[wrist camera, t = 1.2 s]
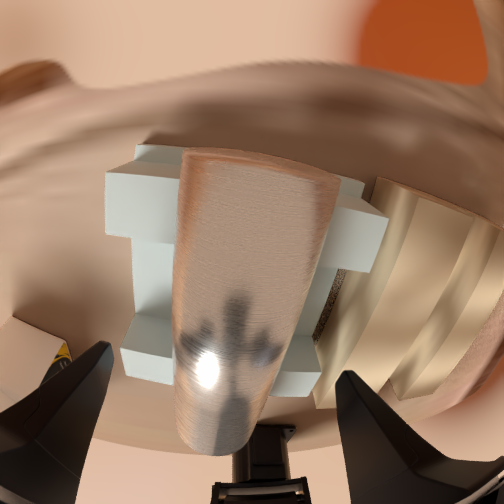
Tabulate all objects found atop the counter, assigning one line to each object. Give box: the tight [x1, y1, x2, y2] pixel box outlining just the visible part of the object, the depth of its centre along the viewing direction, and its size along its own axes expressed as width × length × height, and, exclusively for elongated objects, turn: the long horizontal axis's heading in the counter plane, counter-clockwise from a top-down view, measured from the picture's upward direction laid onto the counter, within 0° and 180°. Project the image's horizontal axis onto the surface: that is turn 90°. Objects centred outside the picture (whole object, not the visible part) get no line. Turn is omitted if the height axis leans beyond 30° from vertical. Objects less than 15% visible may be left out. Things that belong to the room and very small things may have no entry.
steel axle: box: [172, 147, 341, 456], centre depth 10 cm, size 14×4×4 cm, turn 170°
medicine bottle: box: [0, 316, 72, 412], centre depth 13 cm, size 7×7×12 cm
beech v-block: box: [312, 176, 504, 409], centre depth 15 cm, size 14×11×4 cm
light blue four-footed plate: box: [105, 144, 389, 397], centre depth 13 cm, size 13×11×4 cm
